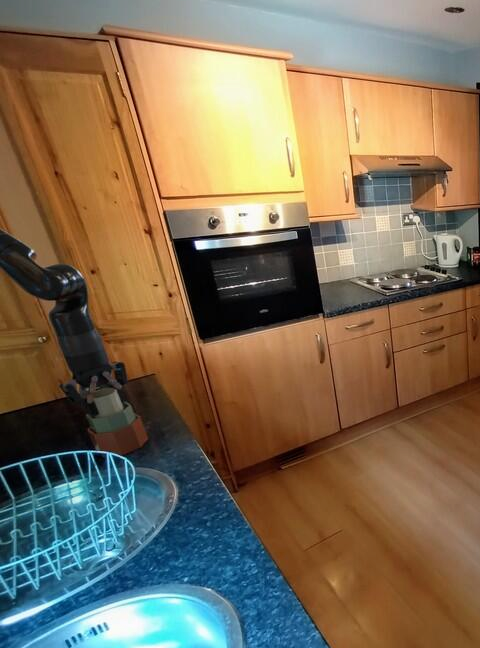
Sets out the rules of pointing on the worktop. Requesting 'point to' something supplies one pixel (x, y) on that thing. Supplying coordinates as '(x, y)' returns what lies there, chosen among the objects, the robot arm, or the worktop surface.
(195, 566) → the worktop surface
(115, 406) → the cup
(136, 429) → the cup stack
